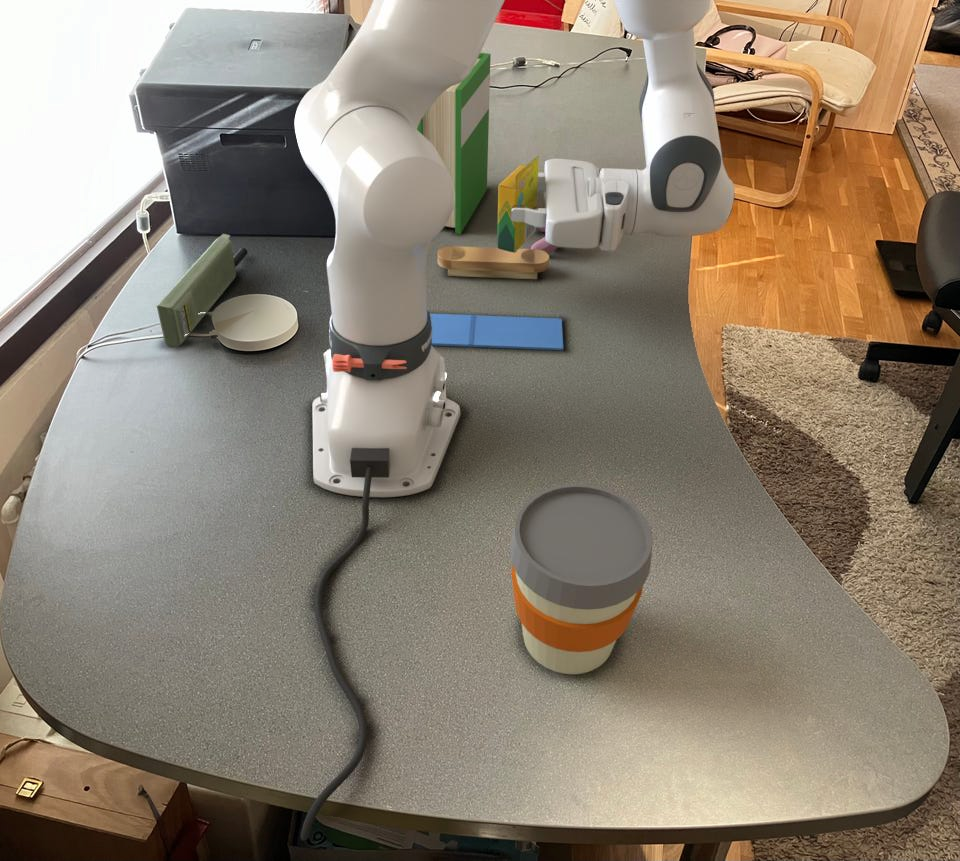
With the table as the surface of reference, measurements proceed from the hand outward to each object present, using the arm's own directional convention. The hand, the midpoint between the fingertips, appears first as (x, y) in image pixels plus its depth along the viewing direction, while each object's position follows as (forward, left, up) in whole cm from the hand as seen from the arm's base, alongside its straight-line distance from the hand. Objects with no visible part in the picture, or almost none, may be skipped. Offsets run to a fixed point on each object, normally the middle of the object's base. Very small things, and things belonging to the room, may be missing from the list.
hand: (511, 198), depth 121 cm
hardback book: (+29, +10, -17) cm, 35 cm away
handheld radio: (-3, +44, -17) cm, 47 cm away
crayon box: (0, -1, -7) cm, 7 cm away
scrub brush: (+8, +2, -16) cm, 18 cm away
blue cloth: (-9, +2, -16) cm, 19 cm away
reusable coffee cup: (-61, -7, -17) cm, 64 cm away
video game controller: (+17, -7, -17) cm, 25 cm away
